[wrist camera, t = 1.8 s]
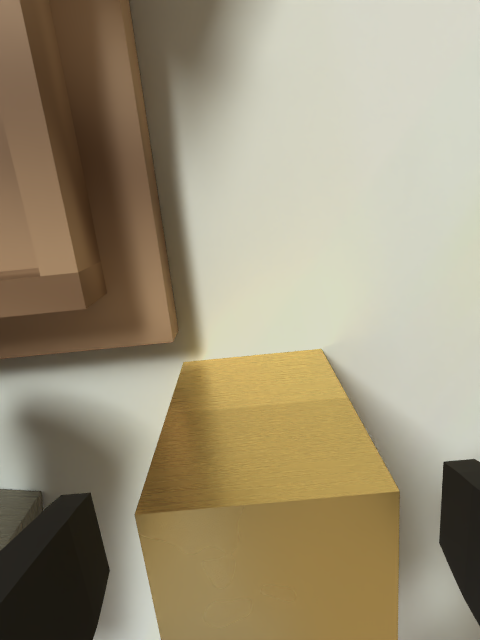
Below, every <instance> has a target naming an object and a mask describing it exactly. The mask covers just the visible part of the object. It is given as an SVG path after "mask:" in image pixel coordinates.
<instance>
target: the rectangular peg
mask: <svg viewBox="0 0 480 640" xmlns="http://www.w3.org/2000/svg"><path fill="white" fill-rule="evenodd" d="M399 502H400V491H399V489H398V487H397V486H396V484H395V482H394V480H393V478H392V477H391V475H390V473H389V471H388V469H387V467H386V466H385V464H384V462H383V460H382V458H381V457H380V455H379V453H378V451H377V449H376V447H375V446H374V444H373V442H372V440H371V438H370V437H369V435H368V433H367V431H366V429H365V428H364V426H363V424H362V422H361V420H360V418H359V417H358V415H357V413H356V411H355V409H354V408H353V406H352V404H351V402H350V400H349V398H348V397H347V395H346V393H345V391H344V389H343V388H342V386H341V384H340V382H339V380H338V378H337V377H336V375H335V373H334V371H333V369H332V368H331V366H330V364H329V362H328V360H327V358H326V357H325V355H324V353H323V351H322V349H315V350H305V351H294V352H284V353H274V354H263V355H253V356H243V357H232V358H222V359H211V360H201V361H191V362H183V365H182V369H181V372H180V375H179V378H178V381H177V384H176V387H175V390H174V393H173V397H172V400H171V403H170V406H169V409H168V412H167V415H166V418H165V422H164V425H163V428H162V431H161V434H160V437H159V440H158V443H157V447H156V450H155V453H154V456H153V459H152V462H151V465H150V468H149V472H148V475H147V478H146V481H145V484H144V487H143V490H142V493H141V496H140V500H139V503H138V506H137V509H136V512H135V519H136V524H137V528H138V533H139V538H140V542H141V547H142V552H143V557H144V561H145V566H146V571H147V575H148V580H149V585H150V589H151V594H152V599H153V604H154V608H155V613H156V618H157V622H158V627H159V632H160V637H161V640H398V578H399Z"/></svg>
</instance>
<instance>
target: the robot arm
mask: <svg viewBox="0 0 480 640" xmlns="http://www.w3.org/2000/svg"><path fill="white" fill-rule="evenodd" d="M439 543H440V546H441V548H442V550H443V553H444V555H445V557H446V560H447V562H448V564H449V566H450V569H451V571H452V573H453V576H454V578H455V580H456V582H457V584H458V586H459V589H460V591H461V593H462V595H463V597H464V599H465V601H466V603H467V604H468V606H469V608H470V610H471V612H472V613H473V615H474V617H475V619H476V620H477V622H478V624H479V626H480V462H479V461H477V460H475V459H470V460H458V461H447V462H444V465H443V483H442V502H441V521H440V539H439ZM109 571H110V570H109V566H108V562H107V558H106V554H105V550H104V546H103V542H102V538H101V534H100V530H99V525H98V521H97V517H96V513H95V509H94V505H93V501H92V497H91V493H83V494H71V495H61V496H60V497H59V498H58V499H56V500H55V501H54V502H53V503H52V504H51V505H49V506H48V507H47V508H46V509H45V510H44V511H43V512H42V513H41V514H40V515H38V516H37V517H36V518H35V519H34V520H33V521H32V522H31V523H30V524H29V525H28V526H27V527H25V528H24V529H23V530H22V531H21V532H20V533H19V534H18V535H17V536H16V537H15V538H14V539H13V540H11V541H10V542H9V543H8V544H7V545H6V546H5V547H4V548H3V549H2V550H1V551H0V640H93V637H94V634H95V631H96V628H97V624H98V620H99V616H100V612H101V608H102V603H103V599H104V594H105V590H106V585H107V580H108V576H109Z"/></svg>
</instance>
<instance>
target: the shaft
mask: <svg viewBox="0 0 480 640" xmlns="http://www.w3.org/2000/svg"><path fill="white" fill-rule="evenodd" d="M42 512H43V511H42V497H41V492H40V491H22V490H5V489H0V551H1V550H2V549H3V548H4V547H5V546H6V545H7V544H8V543H9V542H10V541H11V540H13V539H14V538H15V537H16V536H17V535H18V534H19V533H20V532H21V531H22V530H23V529H24V528H25V527H27V526H28V525H29V524H30V523H31V522H32V521H33V520H34V519H35V518H36V517H37V516H38V515H40V514H41V513H42Z"/></svg>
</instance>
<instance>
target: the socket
mask: <svg viewBox="0 0 480 640" xmlns="http://www.w3.org/2000/svg"><path fill="white" fill-rule="evenodd" d="M177 332H178V324H177V317H176V311H175V304H174V297H173V291H172V284H171V277H170V271H169V264H168V258H167V251H166V244H165V238H164V231H163V224H162V218H161V211H160V204H159V198H158V191H157V184H156V178H155V171H154V165H153V158H152V151H151V145H150V138H149V131H148V125H147V118H146V111H145V105H144V98H143V92H142V85H141V78H140V72H139V65H138V58H137V52H136V45H135V38H134V32H133V25H132V18H131V12H130V5H129V0H0V359H4V358H15V357H25V356H35V355H46V354H56V353H66V352H77V351H87V350H97V349H108V348H118V347H128V346H139V345H149V344H159V343H170V342H173V341H174V339H175V337H176V335H177Z"/></svg>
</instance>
